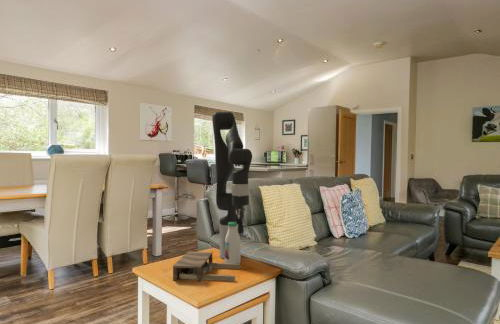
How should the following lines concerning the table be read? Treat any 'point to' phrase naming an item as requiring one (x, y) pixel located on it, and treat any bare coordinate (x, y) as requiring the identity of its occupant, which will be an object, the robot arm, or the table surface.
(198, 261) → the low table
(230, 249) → the milk bottle
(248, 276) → the table surface
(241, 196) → the robot arm
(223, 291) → the table surface
